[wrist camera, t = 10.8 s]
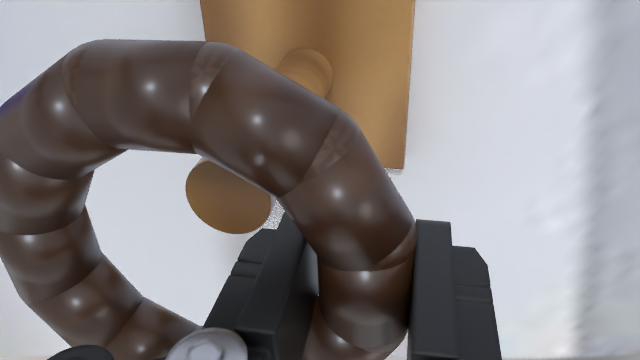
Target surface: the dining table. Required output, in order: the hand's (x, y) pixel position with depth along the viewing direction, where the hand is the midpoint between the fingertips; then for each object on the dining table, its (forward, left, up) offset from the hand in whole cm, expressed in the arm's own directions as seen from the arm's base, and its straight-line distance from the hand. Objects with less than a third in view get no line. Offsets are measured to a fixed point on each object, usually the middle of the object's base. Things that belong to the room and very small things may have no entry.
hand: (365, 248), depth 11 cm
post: (-4, 0, -13) cm, 13 cm away
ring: (-4, 0, +1) cm, 4 cm away
